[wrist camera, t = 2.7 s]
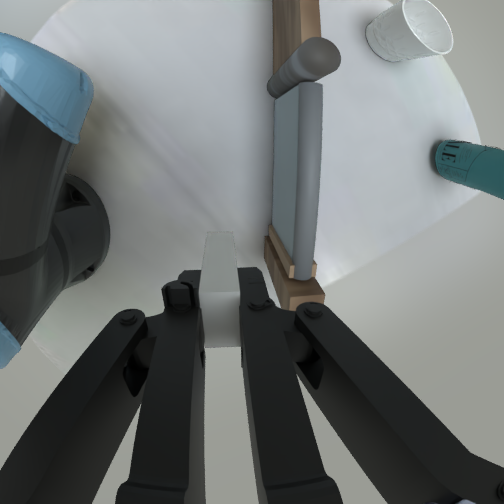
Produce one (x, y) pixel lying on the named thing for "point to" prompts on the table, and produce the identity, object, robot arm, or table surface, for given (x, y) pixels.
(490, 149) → the beverage bottle
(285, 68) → the gate frame
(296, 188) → the gate panel
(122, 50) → the table surface
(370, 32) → the white cup
